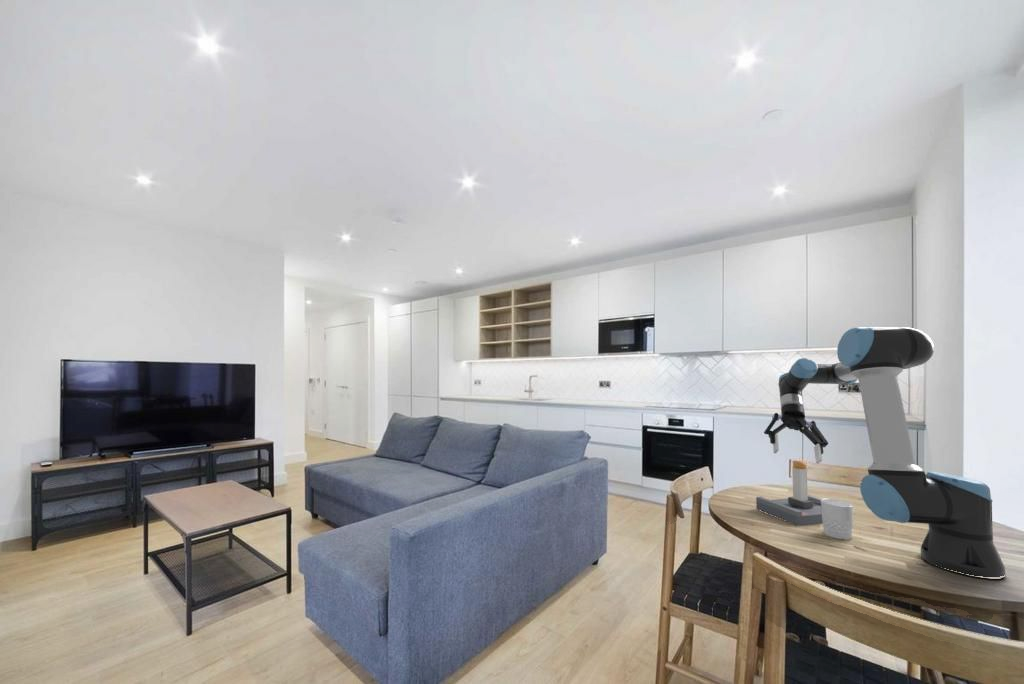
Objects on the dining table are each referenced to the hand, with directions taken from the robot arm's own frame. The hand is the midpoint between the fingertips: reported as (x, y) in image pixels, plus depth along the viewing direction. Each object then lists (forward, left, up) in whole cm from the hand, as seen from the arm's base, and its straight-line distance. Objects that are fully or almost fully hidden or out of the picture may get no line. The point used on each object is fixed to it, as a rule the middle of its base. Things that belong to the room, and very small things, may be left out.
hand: (797, 456), depth 149 cm
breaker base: (-2, +1, -20) cm, 20 cm away
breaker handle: (-2, +1, -16) cm, 17 cm away
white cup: (-19, +7, -20) cm, 28 cm away
